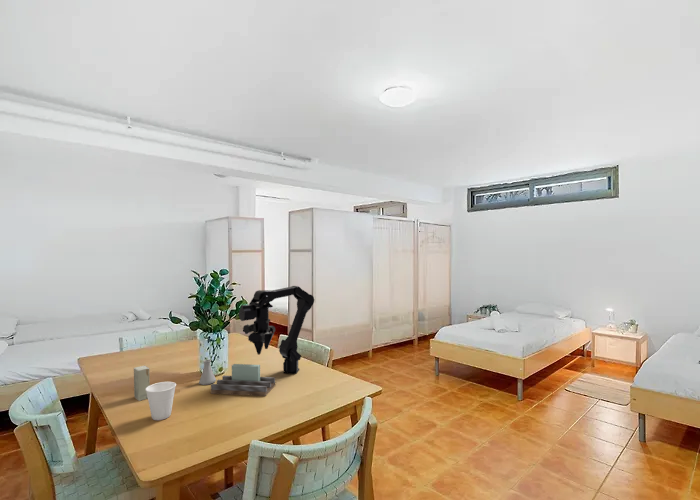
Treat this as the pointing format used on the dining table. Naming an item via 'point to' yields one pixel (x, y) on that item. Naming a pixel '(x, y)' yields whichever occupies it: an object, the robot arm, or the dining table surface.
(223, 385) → the track base
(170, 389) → the cup
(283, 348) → the robot arm
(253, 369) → the door panel
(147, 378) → the skincare box
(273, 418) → the dining table surface
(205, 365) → the flask
